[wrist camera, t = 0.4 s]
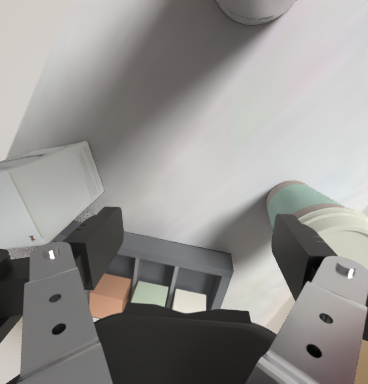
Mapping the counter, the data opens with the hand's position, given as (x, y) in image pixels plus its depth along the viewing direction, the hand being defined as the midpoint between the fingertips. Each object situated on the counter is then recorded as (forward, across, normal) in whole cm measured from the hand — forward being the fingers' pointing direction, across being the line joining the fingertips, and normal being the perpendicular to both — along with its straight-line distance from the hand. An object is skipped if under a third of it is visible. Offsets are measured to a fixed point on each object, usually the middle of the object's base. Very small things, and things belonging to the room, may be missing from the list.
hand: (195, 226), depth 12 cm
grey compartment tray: (+19, +9, +19) cm, 29 cm away
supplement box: (+18, +17, +2) cm, 25 cm away
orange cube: (+15, +12, +19) cm, 27 cm away
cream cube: (+15, +1, +21) cm, 26 cm away
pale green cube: (+15, +7, +20) cm, 26 cm away
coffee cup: (+18, -12, +5) cm, 22 cm away
